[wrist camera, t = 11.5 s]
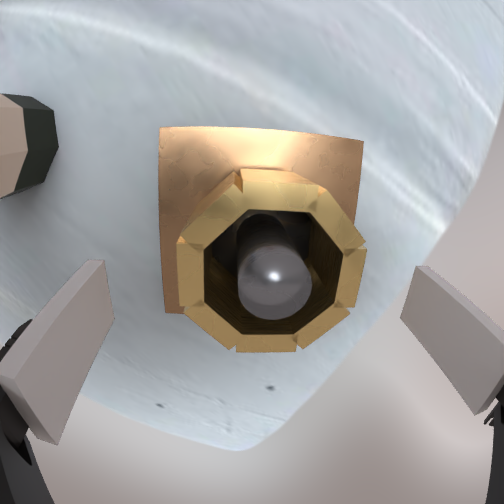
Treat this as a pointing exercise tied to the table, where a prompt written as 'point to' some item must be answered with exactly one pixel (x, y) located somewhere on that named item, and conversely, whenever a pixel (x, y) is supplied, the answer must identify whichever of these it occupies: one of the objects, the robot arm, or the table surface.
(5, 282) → the table surface
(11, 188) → the wine bottle
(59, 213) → the table surface
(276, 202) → the collar
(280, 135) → the doorknob
